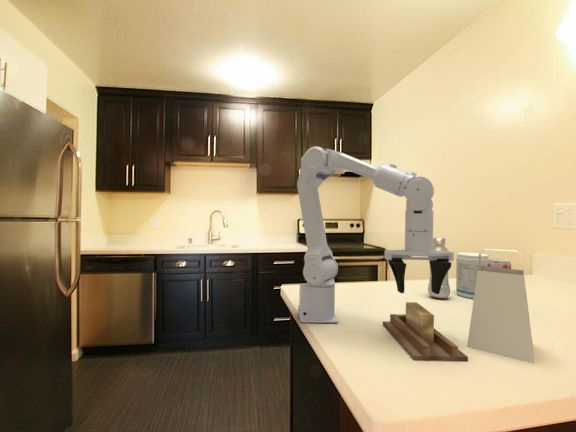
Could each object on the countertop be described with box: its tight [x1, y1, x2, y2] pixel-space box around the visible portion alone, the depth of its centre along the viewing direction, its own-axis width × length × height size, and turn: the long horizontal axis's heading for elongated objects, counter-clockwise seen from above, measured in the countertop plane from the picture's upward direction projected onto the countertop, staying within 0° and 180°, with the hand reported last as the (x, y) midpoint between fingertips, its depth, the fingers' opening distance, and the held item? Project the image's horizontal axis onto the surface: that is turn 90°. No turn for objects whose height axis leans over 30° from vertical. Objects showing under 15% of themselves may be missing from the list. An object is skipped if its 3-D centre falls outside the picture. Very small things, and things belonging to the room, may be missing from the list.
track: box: [382, 313, 469, 362], centre depth 63 cm, size 10×18×3 cm, turn 179°
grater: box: [466, 248, 535, 364], centre depth 61 cm, size 10×10×20 cm
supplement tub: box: [455, 251, 489, 300], centre depth 100 cm, size 10×10×15 cm
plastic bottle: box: [427, 237, 451, 300], centre depth 98 cm, size 6×7×20 cm
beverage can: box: [487, 257, 512, 269], centre depth 83 cm, size 6×6×15 cm
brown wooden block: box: [405, 301, 435, 345], centre depth 63 cm, size 3×9×6 cm, turn 176°
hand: (418, 292), depth 64 cm, fingers open, 7 cm apart
